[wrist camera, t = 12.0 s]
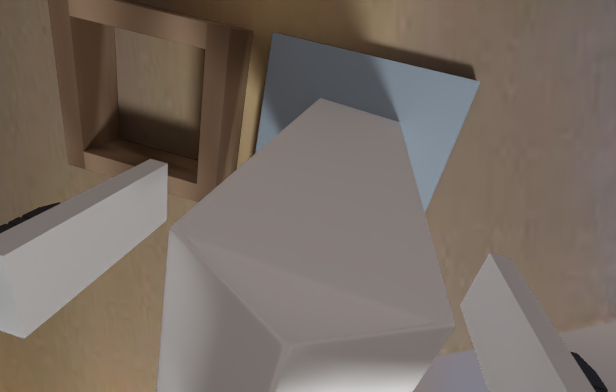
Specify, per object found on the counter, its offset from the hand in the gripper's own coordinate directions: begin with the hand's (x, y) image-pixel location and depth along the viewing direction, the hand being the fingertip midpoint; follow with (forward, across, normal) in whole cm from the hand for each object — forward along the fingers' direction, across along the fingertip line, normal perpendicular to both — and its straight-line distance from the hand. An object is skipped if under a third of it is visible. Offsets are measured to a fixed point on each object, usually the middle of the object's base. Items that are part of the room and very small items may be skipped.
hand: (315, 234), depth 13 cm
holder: (+14, -15, 0) cm, 20 cm away
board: (+14, 0, 0) cm, 14 cm away
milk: (+13, 0, 0) cm, 13 cm away
